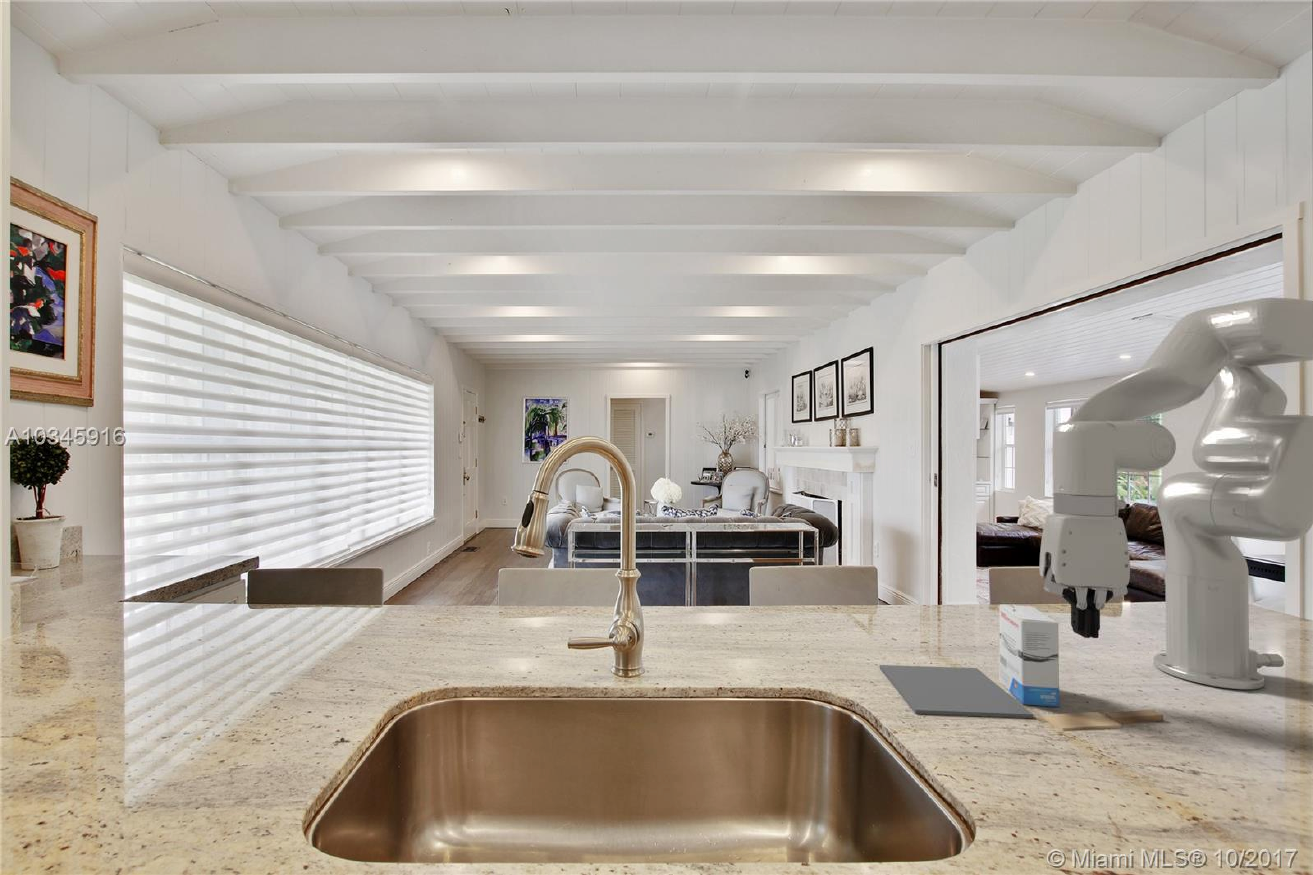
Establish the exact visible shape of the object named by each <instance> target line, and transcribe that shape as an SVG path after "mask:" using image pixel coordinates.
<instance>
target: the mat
mask: <svg viewBox="0 0 1313 875" xmlns="http://www.w3.org/2000/svg"><path fill="white" fill-rule="evenodd" d="M879 669H880V671H881V672H882V673H883V675H884V676H885V677H886V678H887V679H888V681H889V682H890V684H891V685H892V686H893V687H894V689H895V690H896V691H897V692H898V693H899V695H900V696H901V697H902V699H903V700H904V701H905V702H906V703H907V705H908V706H909V708H910V709H911V710H912V711H913V713H914V714H916V715H918V714H919V715H940V716H941V715H942V716H965V717H967V716H968V717H969V716H970V717H988V718H989V717H992V718H995V717H996V718H1016V719H1017V718H1019V719H1034V713H1032V712H1031V711H1030V710H1029V709H1027V708H1026V707H1025V706H1024V705H1023V704H1022V703H1021V702H1020V701H1019V700H1017V699H1016V698H1015V697H1014V696H1013V697H1012V695H1010V694H1009V693H1008V692H1007V691H1005V690H1004V689H1003V688H1002V687H1001V686H999V684H997V683H996V682H995V681H993V680H992V679H991V678H989V677H988V676H987V675H986V674H984V673H983V672H982V671H981V670H980V669H979V668H977V667H955V666H954V667H952V666H948V667H947V666H926V665H924V666H921V665H920V666H919V665H918V666H917V665H893V664H892V665H891V664H890V665H889V664H879Z"/></svg>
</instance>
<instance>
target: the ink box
mask: <svg viewBox="0 0 1313 875" xmlns="http://www.w3.org/2000/svg"><path fill="white" fill-rule="evenodd" d="M998 606H999V609H998V610H999V612H998V614H999V618H998V619H999V621H998V622H999V632H998V633H999V637H998V638H999V639H998V640H999V648H998V649H999V651H998V652H999V661H998V662H999V666H998V667H999V668H998V671H999V673H998V678H999V680H998V681H999V682H1000V683H1001V684H1002V685H1003V686H1004V688H1006V690H1007V691H1009V692H1010V693H1011V694H1012V695H1013V697H1014V698H1015V699H1016V700H1017V701H1018V702H1019V703H1020V704H1021V705H1028V706H1031V705H1032V706H1040V707H1041V706H1043V707H1055V708H1059V707H1060V673H1059V672H1060V671H1059V670H1060V668H1059V667H1060V665H1059V664H1060V662H1059V656H1060V654H1059V650H1060V649H1059V647H1060V646H1059V642H1060V641H1059V622H1058V621H1056V620H1054V619H1052V618H1051V617H1050V616H1048V615H1046V614H1045V613H1044V612H1042V611H1040V610H1038V609H1037V608H1035V607H1034V606H1028V605H1017V604H999V605H998Z"/></svg>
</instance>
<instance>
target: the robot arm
mask: <svg viewBox="0 0 1313 875" xmlns="http://www.w3.org/2000/svg"><path fill="white" fill-rule="evenodd" d="M1307 361H1309V362H1310V361H1313V300H1308V299H1299V298H1291V297H1290V298H1289V297H1288V298H1287V297H1263V298H1262V297H1261V298H1256V299H1250V300H1245V301H1239V302H1234V303H1228V304H1223V305H1218V306H1211V307H1207V308H1202V309H1199V310H1195V311H1193V312H1190V313H1188V314H1187V315H1184V316H1183V317H1182V318H1181V319H1180V320H1178V322H1176V323H1175V325H1174V326H1173V327H1172V329H1170V331H1169V332H1168V333H1167V335H1166V336H1165V338H1164V339H1163V340H1162V341H1161V343H1160V344H1159V345H1158V347H1157V348H1156V349H1155V350H1154V351H1153V353H1152V354H1151V355H1150V356H1149V358H1148V359H1147V360H1146V361H1145V363H1144V364H1143V365H1142V367H1141V368H1139V369H1137V370H1136V371H1134V372H1132V373H1129V374H1128V375H1126V376H1124V377H1122V378H1120V379H1119V380H1116V381H1115V382H1113V383H1111V384H1110V385H1108V386H1107V387H1106V386H1105V387H1104V388H1102V389H1101V390H1099V391H1098V392H1096V393H1094V394H1092V396H1090V397H1088V398H1087V399H1086V400H1084V401H1083V402H1082V403H1081V405H1079V406H1078V408H1076V410H1075V411H1074V412H1073V413H1072V414H1071V416H1070V417H1069V418H1068V420H1067V421H1063V422H1061V423H1058V424H1057V425H1055V427H1054V428H1053V431H1052V481H1053V482H1052V488H1053V489H1052V490H1053V491H1052V494H1053V496H1052V497H1053V498H1052V506H1053V507H1052V508H1053V509H1052V510H1053V511H1052V514H1047V515H1046V517H1045V520H1044V521H1045V522H1044V525H1043V529H1042V535H1041V541H1040V542H1041V543H1040V552H1039V575H1040V577H1041V578H1042V579H1044V584H1043V589H1044V591H1046V592H1048V593H1049V594H1050V593H1051V594H1054V595H1058V596H1061V597H1062V598H1063V599H1064V600H1065V601H1066V603H1067V604H1069V605H1070V625H1071V626H1070V627H1072V631H1073V633H1074V634H1076V635H1079V636H1081V637H1083V638H1084V639H1090V638H1092V639H1098V638H1099V637H1100V636H1099V632H1100V629H1101V611H1102V610H1104V609H1105V606H1106V603H1108V602H1109V601H1110V600H1111V599H1112V598H1116V597H1120V596H1125V595H1127V594H1128V593H1129V592H1128V590H1129V589H1128V588H1127V586H1128V585H1129V583H1130V578H1131V562H1130V561H1131V560H1130V550H1129V541H1128V537H1127V531H1126V527H1125V524H1124V521H1123V518H1121V517H1119V510H1120V509H1121V510H1124V509H1125V508H1126V507H1127V503H1126V500H1125V499H1119V495H1118V494H1119V493H1118V484H1119V483H1118V479H1119V478H1118V472H1122V473H1149V472H1154V471H1157V470H1159V469H1160V470H1161V469H1162V468H1165V467H1166V466H1167V465H1168V464H1169V463H1170V462H1171V461H1172V460H1173V458H1174V457H1175V454H1176V451H1177V450H1176V449H1177V445H1176V440H1175V439H1176V438H1175V437H1174V435H1173V434H1172V432H1171V431H1170V430H1169V429H1168V428H1166V427H1165V426H1164V425H1162V424H1161V423H1158V422H1155V421H1150V420H1141V419H1144V418H1149V417H1152V416H1156V415H1161V414H1163V413H1164V414H1165V413H1166V412H1170V411H1173V410H1176V409H1179V408H1182V407H1184V406H1187V405H1191V404H1192V403H1195V402H1196V401H1197V400H1200V399H1201V398H1202V396H1204V394H1206V391H1207V390H1208V389H1209V387H1210V386H1211V385H1212V383H1213V387H1214V398H1213V400H1212V404H1211V405H1210V408H1209V409H1208V412H1207V414H1206V416H1205V419H1204V420H1203V422H1202V424H1201V426H1200V429H1199V431H1198V433H1197V435H1196V437H1195V441H1194V443H1193V446H1192V451H1191V455H1192V460H1193V462H1194V464H1195V465H1196V466H1197V467H1198V468H1199V469H1201V470H1203V471H1204V472H1203V471H1197V472H1196V471H1193V472H1192V471H1190V472H1183V473H1177V474H1174V475H1172V476H1169V477H1167V478H1166V479H1164V480H1163V481H1162V482H1161V484H1159V486H1158V488H1157V492H1156V500H1155V501H1156V506H1157V512H1158V516H1159V520H1160V523H1161V527H1162V533H1163V538H1164V539H1163V541H1164V557H1165V565H1164V566H1165V570H1164V571H1165V572H1164V574H1165V652H1162V653H1158V654H1155V655H1154V656H1153V664H1154V666H1155V667H1156V668H1157V669H1159V670H1160V671H1162V672H1164V673H1167V674H1169V675H1171V676H1174V677H1177V678H1180V679H1182V680H1186V681H1190V682H1193V683H1197V684H1202V685H1207V686H1210V687H1218V688H1224V689H1233V690H1257V689H1261V688H1263V687H1264V686H1265V677H1264V676H1263V675H1262V674H1261V673H1260V672H1258V669H1261V668H1262V667H1266V668H1282V667H1283V666H1284V665H1285V661H1284V659H1283V657H1282V656H1281V655H1280V654H1277V653H1258V651H1256V650H1254V649H1251V648H1250V607H1249V606H1250V605H1249V604H1250V601H1249V600H1250V597H1249V595H1250V593H1249V591H1250V590H1249V566H1248V562H1247V560H1246V558H1245V556H1244V554H1243V552H1242V551H1241V549H1239V547H1238V546H1237V544H1236V543H1235V542H1234V541H1233V539H1232V538H1231V537H1234V538H1235V537H1236V538H1244V539H1251V540H1261V541H1267V542H1269V541H1271V542H1292V541H1297V540H1299V539H1301V538H1302V537H1304V536H1306V535H1307V534H1308V532H1309V531H1310V529H1311V528H1312V526H1313V415H1308V414H1284V413H1285V412H1286V408H1287V406H1288V405H1287V404H1288V397H1287V394H1286V392H1285V391H1284V390H1283V388H1281V386H1280V385H1279V384H1278V383H1277V382H1276V381H1274V379H1272V378H1271V377H1269V376H1267V375H1266V374H1265V373H1264V372H1263V371H1262V370H1261V368H1260V366H1269V365H1278V364H1289V363H1298V362H1307Z"/></svg>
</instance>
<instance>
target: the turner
mask: <svg viewBox="0 0 1313 875" xmlns="http://www.w3.org/2000/svg"><path fill="white" fill-rule="evenodd" d="M1041 718H1042V719H1044V720H1045V721H1047V722H1048V723H1050V724H1052V725H1053V726H1055V727H1057V729H1060V730H1061V731H1074V730H1075V731H1078V730H1101V729H1103V730H1104V729H1121V728H1122V724H1133V723H1150V722H1152V723H1153V722H1163V721H1164V714H1163V713H1160V712H1159V711H1156V710H1154V709H1146V710H1145V709H1144V710H1143V709H1142V710H1127V711H1126V710H1125V711H1111V712H1110V711H1107V712H1103V713H1100V712H1099V711H1088V712H1071V713H1069V712H1068V713H1056V714H1055V713H1054V714H1041Z"/></svg>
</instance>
